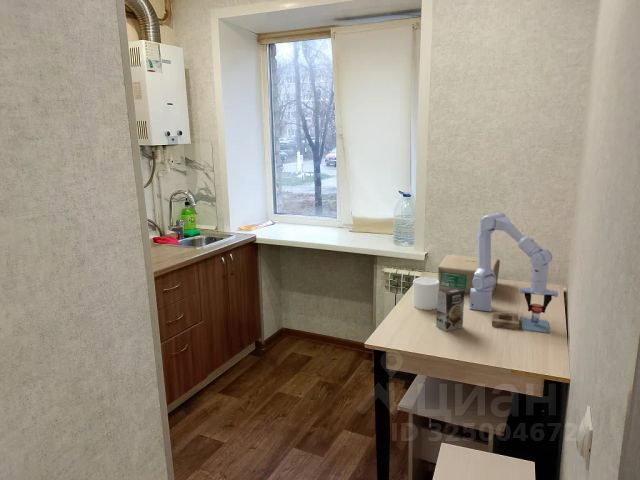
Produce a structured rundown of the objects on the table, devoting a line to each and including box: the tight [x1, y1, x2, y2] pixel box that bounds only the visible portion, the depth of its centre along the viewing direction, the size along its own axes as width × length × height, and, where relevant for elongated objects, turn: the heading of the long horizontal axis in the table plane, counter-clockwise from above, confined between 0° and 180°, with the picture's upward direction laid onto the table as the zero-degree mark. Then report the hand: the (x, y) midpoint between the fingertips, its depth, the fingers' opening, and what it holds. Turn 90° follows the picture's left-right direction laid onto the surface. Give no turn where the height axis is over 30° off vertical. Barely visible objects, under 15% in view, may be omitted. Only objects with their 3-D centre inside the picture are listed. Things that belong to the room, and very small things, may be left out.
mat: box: [520, 317, 550, 334], centre depth 191 cm, size 10×12×1 cm
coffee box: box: [435, 287, 465, 332], centre depth 190 cm, size 9×6×16 cm
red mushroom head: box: [530, 303, 543, 323], centre depth 190 cm, size 5×5×7 cm
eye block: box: [491, 311, 520, 330], centre depth 194 cm, size 10×10×2 cm
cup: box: [412, 276, 439, 311], centre depth 214 cm, size 12×12×12 cm
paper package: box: [437, 253, 500, 296], centre depth 237 cm, size 27×26×14 cm
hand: (536, 311), depth 190 cm, fingers closed on red mushroom head, 5 cm apart
